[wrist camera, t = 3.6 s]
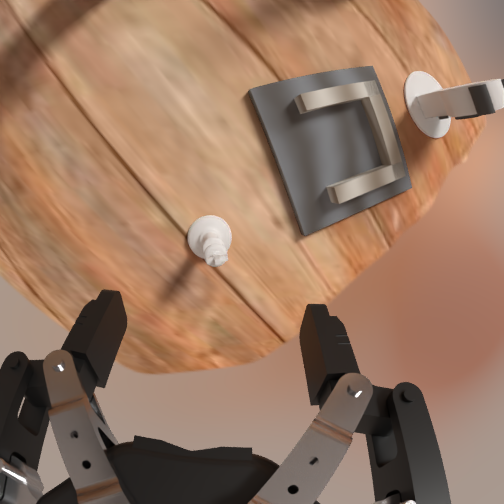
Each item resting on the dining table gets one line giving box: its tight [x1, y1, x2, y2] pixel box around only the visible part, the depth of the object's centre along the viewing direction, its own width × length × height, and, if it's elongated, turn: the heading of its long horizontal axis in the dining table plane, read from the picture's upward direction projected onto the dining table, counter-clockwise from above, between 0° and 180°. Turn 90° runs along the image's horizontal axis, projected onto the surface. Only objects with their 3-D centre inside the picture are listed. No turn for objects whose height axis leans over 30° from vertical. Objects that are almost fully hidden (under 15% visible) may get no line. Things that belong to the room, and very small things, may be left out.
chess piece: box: [188, 215, 232, 267], centre depth 27 cm, size 5×5×10 cm
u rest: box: [248, 66, 412, 236], centre depth 30 cm, size 18×18×3 cm
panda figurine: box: [404, 71, 504, 138], centre depth 26 cm, size 12×11×15 cm
